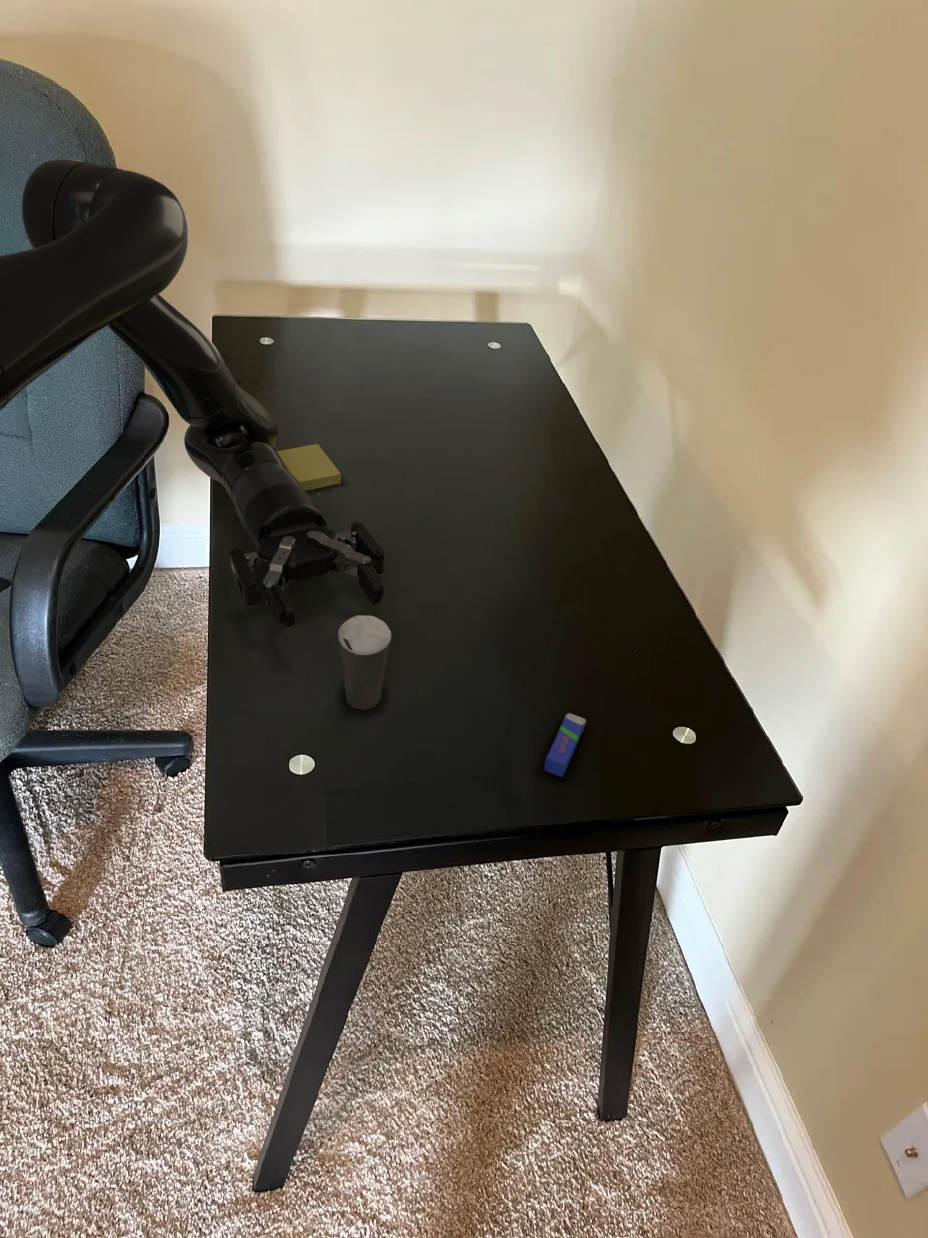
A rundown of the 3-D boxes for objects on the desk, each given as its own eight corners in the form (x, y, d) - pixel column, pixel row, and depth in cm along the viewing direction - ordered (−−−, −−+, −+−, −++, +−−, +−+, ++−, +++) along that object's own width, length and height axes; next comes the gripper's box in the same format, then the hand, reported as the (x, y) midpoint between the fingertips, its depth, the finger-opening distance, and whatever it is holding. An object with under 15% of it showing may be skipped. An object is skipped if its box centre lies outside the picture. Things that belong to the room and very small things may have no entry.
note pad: (282, 495, 100) (282, 485, 99) (261, 464, 105) (261, 453, 104) (341, 483, 103) (341, 473, 102) (318, 453, 108) (318, 443, 107)
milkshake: (323, 708, 76) (321, 628, 69) (356, 673, 79) (357, 594, 73) (365, 729, 74) (367, 649, 68) (396, 692, 78) (402, 613, 71)
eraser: (583, 733, 77) (587, 719, 75) (562, 779, 72) (566, 765, 71) (563, 725, 77) (567, 711, 76) (541, 771, 73) (545, 756, 71)
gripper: (205, 495, 81) (257, 595, 71) (341, 470, 87) (407, 559, 77) (213, 556, 86) (263, 657, 76) (341, 528, 92) (403, 619, 82)
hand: (335, 608), depth 76 cm, fingers open, 8 cm apart
